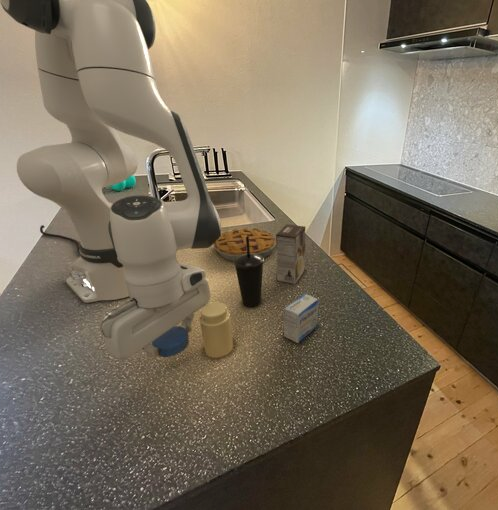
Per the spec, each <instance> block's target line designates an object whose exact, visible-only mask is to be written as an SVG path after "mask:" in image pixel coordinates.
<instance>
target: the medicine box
mask: <svg viewBox="0 0 498 510" xmlns="http://www.w3.org/2000/svg"><path fill="white" fill-rule="evenodd" d="M318 315H319V299H318V298H316V297H314V296H311V295H309V294H307V293H304V294H302V295H301V296H299V297H298V298H297V299H295V300H294V301H293V302H291V303H290V304H288V305H287V306H285V308H283V333H284V338H286V339H289V340H291V341H293V342H294V343H296V344H300V343H301V342H302V341H303V340H304V339H305V338H306V337H307V336H308V335H309V334H310V333H312V332H313V331H314V330H315V329H316V328H317V327H318Z"/></svg>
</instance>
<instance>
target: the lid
mask: <svg viewBox="0 0 498 510" xmlns="http://www.w3.org/2000/svg"><path fill="white" fill-rule="evenodd" d="M189 344H190V338H189V333H187V331H186V330H185V329H184V328H182V327H179V326H177V325H176V326H174V327H173V328H171V329H170V330H168V331H167V332H166V333H164V334H163V335H161V336H160V337H158V338H157V339H155V340H154V341H153V342H151V346H152V345H153V346H154V347H156V348H159V352H160V354H159V355H158V356H157V357H161V358H162V357H163V358H170V357H173V356H176V355H179V354H180V353H182V352H184V351H185V350H186V349H187V347H188V346H189Z"/></svg>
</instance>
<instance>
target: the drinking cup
mask: <svg viewBox="0 0 498 510" xmlns="http://www.w3.org/2000/svg"><path fill="white" fill-rule="evenodd" d="M246 245H247V253H245V254H241V255H238V256H237V257H235V258H234V260H233V261H232V262H233V266H234V268H235V272H236V276H237V282H238V287H239V292H240V297H241V302H242V305H243V306H244V307H245V308H249V309H253V308H257V307H259V306H260V304H261V302H262V285H263V272H264V271H263V269H264V263H265V257H264V258H263V256H261V255H259V254H256V253H250V249H249V237H246Z"/></svg>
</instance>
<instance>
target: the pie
mask: <svg viewBox="0 0 498 510" xmlns="http://www.w3.org/2000/svg"><path fill="white" fill-rule="evenodd" d="M246 237H249V249H250V253H256V254H259V255H261V256H263V258H264V259H265V258H267V256H270V255H271V253H272V251H273V249H274V248H275V246H276V237H274V236H273V234H272V233H271V232H269V233H268V231H266V230H260V229H259V228H252V229H248V228H247V227H246V228H245V227H244V228H241V229H237V228H235V229H232V230H231V231H225V232H221V236H220V237H219V239H218V240H217V241H216V242H215V243H214V244H213V248H214V249H215V250H216V251H217V252H218V253H219V255H220V256H221V257H222V258H224V259H225V260H227V261H230V262H233V260H234V258H235V257H237V256H238V255H241V254H245V253H247V245H246Z"/></svg>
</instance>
